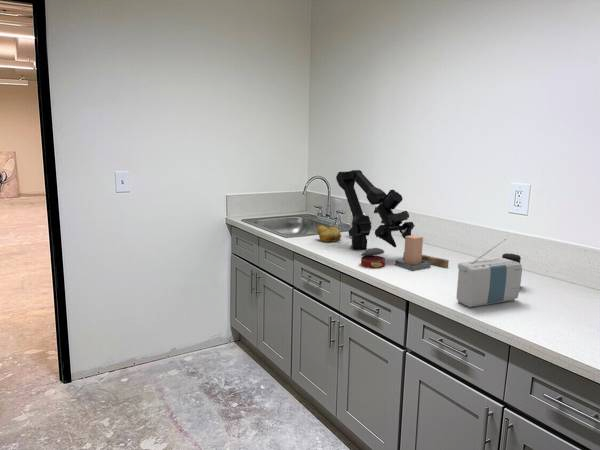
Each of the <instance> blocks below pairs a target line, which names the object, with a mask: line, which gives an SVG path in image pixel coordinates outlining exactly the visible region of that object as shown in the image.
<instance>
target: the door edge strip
mask: <svg viewBox="0 0 600 450" xmlns="http://www.w3.org/2000/svg"><path fill="white" fill-rule="evenodd" d="M402 258H403V260H404V254H403V255H402ZM422 260H424V261H427V262H430V263H431V266H434V267H435V266H436V267H440V268H444V269H447V268H449V262H450V260H449V259H445V258H440V257H435V256H431V255H426V254H422Z"/></svg>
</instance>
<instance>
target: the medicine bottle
mask: <svg viewBox="0 0 600 450" xmlns="http://www.w3.org/2000/svg"><path fill="white" fill-rule="evenodd" d="M501 258H505V259H508V260H512V261H515V262H518V263H521V258H522V257H521V256H520V255H519V254H518V253H512V252H511V253H510V252H506V253H503V254H502V255H501ZM522 274H523V269H522V270H521V276H522ZM521 282H522V280H521V281H520V285H521V284H522V283H521Z"/></svg>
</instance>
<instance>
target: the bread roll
mask: <svg viewBox="0 0 600 450" xmlns="http://www.w3.org/2000/svg"><path fill="white" fill-rule="evenodd" d="M316 231H317V232H316V233H317V235H318V238H319V241H321V242H324V243H328V242H337V241H339V240H341V238H342V234H341V231H340V229H339V228H338V227H336V226H329V227H327V226H325V225H323V224H319V225H318V226H317V229H316Z"/></svg>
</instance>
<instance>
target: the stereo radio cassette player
mask: <svg viewBox="0 0 600 450" xmlns="http://www.w3.org/2000/svg"><path fill="white" fill-rule="evenodd" d="M506 240H507V239H506V238H504V239H503V240H502V241H500V242H498V243H497V244H496V245H495V246H493V247H492V248H490V249H489V250H487V251H486V252H484V253H483V254H482V255H480V256H479V257H478V258H476V259H475V260H473V261H466V262H464V261H463V262H458V264H457V269H458V273H457V276H458V277H457V286H456V287H457V288H456V301H457V302H459V303H461V304H462V305H464V306H466V307H468V308H469V307H471V308H474V307H481V306H486V305H493V304H498V303H503V302H510V301H511V302H512V301H515V300H516V299H518V297H519V294H520V288H521V284H520V281H521V282H522V275H521V270H522V271H523V267H522V263H521V262H520V263H518V262H515V261H512V260H508V259H505V258H502V257H500V258H492V259H491V258H490V259H484V260H483V259H482V260H480V259H481V258H483V257H484V256H485V255H487V254H488V253H490V252H491V251H492V250H494V249H495V248H496V247H498V246H499V245H501V244H502V243H503V242H504V241H506Z"/></svg>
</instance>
